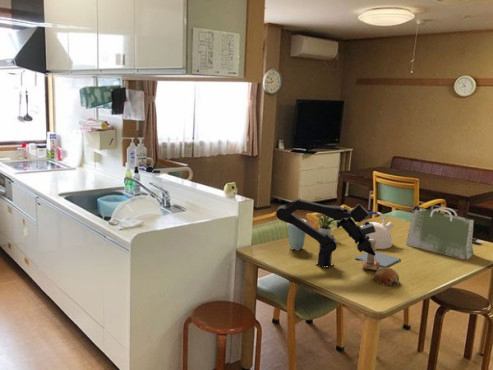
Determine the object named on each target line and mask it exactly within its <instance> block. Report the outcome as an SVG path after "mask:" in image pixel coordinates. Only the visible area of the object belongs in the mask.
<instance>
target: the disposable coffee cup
mask: <svg viewBox="0 0 493 370" xmlns="http://www.w3.org/2000/svg"><path fill="white" fill-rule="evenodd" d="M300 219H301V220H303V221H304V222H306V223H307V224H308V222H307V219H304V218H300ZM286 225H287V234H288V241H289V248H290V247H291V248H293V249H301V248H302V249H303V248H304V244H305V238H306V235H307V234H306V233H305V232H303V231H302V230H300V229H299V228H297V227H296V226H294V225H292V224H290V223H286ZM291 248H290V249H291ZM293 249H292V250H293Z"/></svg>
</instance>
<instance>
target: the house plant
mask: <svg viewBox="0 0 493 370" xmlns="http://www.w3.org/2000/svg"><path fill="white" fill-rule="evenodd" d="M314 214H316V215H317V216H318V217H319V218H318V220H319V221H318V220H316V221H315V223H319V224H320V225H319V226H318V231H320V232H321V233H324V234H325V233H326V232H328V233H329V234H332V233H331V232H332V227H331V225H333V226H336V225H337V222H335V221H336V220H334V219H332V218H329V217H328V216H326V215H324V214H322V216H321V214H320V213H316V212H314Z"/></svg>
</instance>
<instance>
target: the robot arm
mask: <svg viewBox="0 0 493 370" xmlns="http://www.w3.org/2000/svg"><path fill="white" fill-rule="evenodd" d="M299 209H301V210H304V211H308V212H312V213H316V214H318V213H319V214H320V215H323V214H324V215H326V217H327V216H328V217H329V218H331V219H332V220H336V222H335V223H337V224H335V226H336V229H339V228H340V227H341V228H342V229H343V230H344V231H345V232H346V233H347V234H348V237H349V238H351V239H352V240H353V242H354V241H355V242H354V243H355V245H356V249H357V251H359V253H362V252H363V253H369V254H371V255H373V256H375V255H376V254H375V252H376V251H375V252H374V251H373V249H372V247H371V246H370V245H371V241H370V240H369V236H367V234H370V233H374V232H376V231H375V228H374V225H373V223H371V224H370V221H365V222H364V223H365V225H364V226H363V227H361V226H360V225H358V224H356V223H361V222H363V221H364V220H365V219H366V218H367V217H369V216H370V215H369V213H368V212H369V211H367V210H366V208H364V207H363V206H362V205H361V204H360V203H358V204H356V206H354V207H353V208H352V209H351V210H350V209H347V208H343V207H342V206H341V205H332V204H331V205H327V204H325V205H324V204H321V203H317V202H312V201H309V200H308V201H307V200H304V199H301V198H295V200H293V201H291V202H289V203H287V204H283V205H279V206H278V208H277V210H276V213H275V214H276V218H277V219H278V220H280V221H281V222H284V223H286V224H287V223H290V224H292V225H294V226H296V227H297V228H299V229H300V230H302V231H303V232H305V233H306V235H308V236H309V237H311V238H312V239H314V240H315V241H316V242H318V244H319V245H318V249H319V251H318V256H317V258H318V259H317V263H318V265H320V266H319V267H321V266H325V267H326V266H328V268H330V267H329V266H331V263H332V255H333V252H335V251H336V250H337V247H338V244H337V239H336V238H335V236H334V235H333V234H332V233H330V234H329V233H328V232H326V233H325V234H324V233H321V232H320V231H319V229H316V228H315V227H314V226H312V225H311V224H309V223H308V222H307V223H306V222H304V221H303V220H301V219H302V218H300V217H298V216H297V215H296V214H295V212H296V211H297V210H299ZM366 236H367V237H366ZM358 242H359V243H358ZM357 243H358V244H357ZM332 264H333V266H334V263H332ZM318 265H317V266H318ZM331 267H332V266H331Z"/></svg>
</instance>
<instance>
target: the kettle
mask: <svg viewBox="0 0 493 370" xmlns="http://www.w3.org/2000/svg"><path fill="white" fill-rule="evenodd" d="M367 212H368V213H369V216H370V215H378V216H380V217H381V218H382V223H379V222H375V221H374V222H373V221H372V222H370V221H369V223H370V224H371V223H373V225H374V228H375V231H376V232H374V233H370V234H367V236H369V239H374V240H376V248H375V250H385V249H390V248H391V247H392V246H393V237H392V234H391V232H390V230H391V229H392V228H393V227H395V226H394V224H393V222H391V221H389V222H388V223H387V224H386V222H387V219H386V217H385V214H383V213H382V212H379V211H367ZM364 225H365V222H364V223H363V224H362V225H361V226H360V227H363V226H364ZM367 236H366V237H367ZM358 243H359V242H358ZM358 243H357V244H358ZM357 244H356V245H357Z"/></svg>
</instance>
